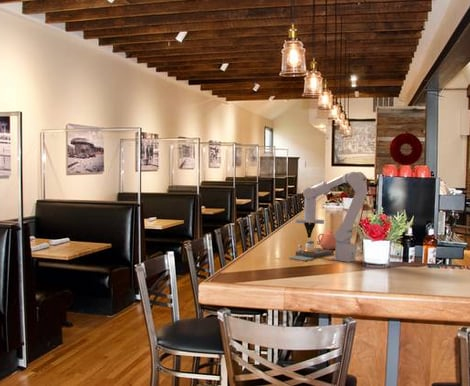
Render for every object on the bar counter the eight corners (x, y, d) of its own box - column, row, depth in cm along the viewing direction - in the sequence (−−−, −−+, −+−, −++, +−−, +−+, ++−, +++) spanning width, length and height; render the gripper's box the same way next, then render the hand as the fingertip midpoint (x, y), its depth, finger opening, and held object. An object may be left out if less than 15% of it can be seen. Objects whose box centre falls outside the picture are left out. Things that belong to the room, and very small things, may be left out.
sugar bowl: (343, 250, 272) (344, 232, 272) (318, 250, 273) (318, 231, 272) (339, 247, 285) (339, 229, 284) (314, 246, 285) (315, 228, 284)
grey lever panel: (333, 254, 260) (333, 250, 260) (311, 258, 246) (312, 254, 246) (317, 251, 267) (317, 247, 267) (295, 255, 253) (295, 251, 252)
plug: (317, 256, 253) (317, 241, 252) (310, 257, 249) (311, 242, 248) (308, 254, 257) (308, 240, 256) (301, 255, 253) (302, 241, 252)
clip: (300, 248, 261) (300, 242, 261) (302, 252, 251) (302, 245, 251) (297, 248, 261) (297, 242, 261) (298, 251, 251) (299, 245, 251)
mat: (313, 259, 242) (313, 258, 242) (304, 261, 237) (304, 260, 237) (298, 256, 249) (298, 255, 249) (289, 258, 243) (289, 257, 243)
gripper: (296, 211, 249) (295, 238, 250) (325, 212, 248) (324, 238, 249) (295, 210, 256) (294, 236, 257) (323, 211, 255) (322, 237, 256)
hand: (309, 237), depth 253 cm, fingers closed
